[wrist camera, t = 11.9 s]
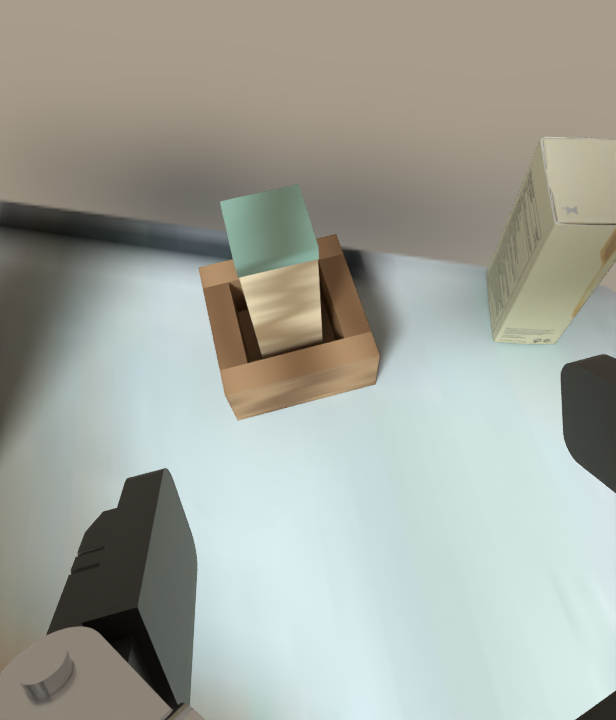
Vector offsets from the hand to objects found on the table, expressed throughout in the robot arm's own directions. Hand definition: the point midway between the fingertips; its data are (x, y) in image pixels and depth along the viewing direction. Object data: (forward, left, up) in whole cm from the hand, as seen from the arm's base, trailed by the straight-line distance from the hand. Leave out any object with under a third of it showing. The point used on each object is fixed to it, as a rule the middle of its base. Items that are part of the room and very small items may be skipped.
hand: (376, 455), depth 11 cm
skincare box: (+11, +18, -23) cm, 32 cm away
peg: (-5, +14, -22) cm, 27 cm away
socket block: (-5, +14, -23) cm, 28 cm away
